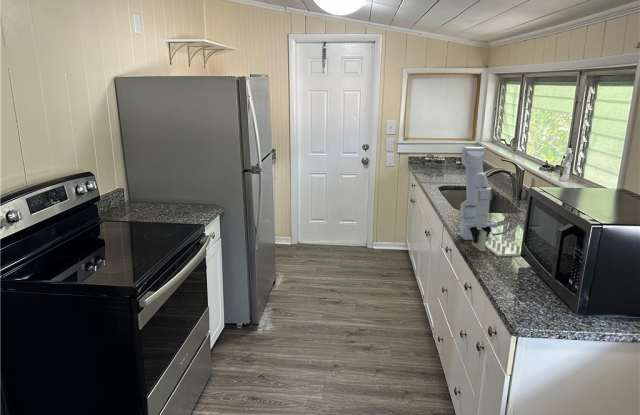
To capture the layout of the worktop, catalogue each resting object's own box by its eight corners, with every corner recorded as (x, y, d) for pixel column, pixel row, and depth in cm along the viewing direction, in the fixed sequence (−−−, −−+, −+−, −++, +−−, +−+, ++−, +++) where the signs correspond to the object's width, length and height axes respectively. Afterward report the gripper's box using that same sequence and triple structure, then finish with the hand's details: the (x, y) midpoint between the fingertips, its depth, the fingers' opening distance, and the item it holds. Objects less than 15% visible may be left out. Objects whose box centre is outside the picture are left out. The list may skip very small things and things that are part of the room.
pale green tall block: (480, 251, 195) (482, 232, 193) (472, 244, 204) (473, 226, 202) (485, 251, 196) (486, 232, 193) (476, 244, 204) (478, 226, 202)
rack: (480, 243, 205) (481, 235, 204) (507, 242, 206) (508, 234, 205) (497, 256, 189) (498, 247, 188) (526, 255, 190) (527, 246, 189)
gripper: (469, 216, 191) (466, 246, 195) (501, 215, 193) (498, 245, 196) (463, 212, 198) (460, 241, 202) (494, 211, 199) (491, 240, 203)
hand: (479, 242), depth 199 cm, fingers open, 3 cm apart
